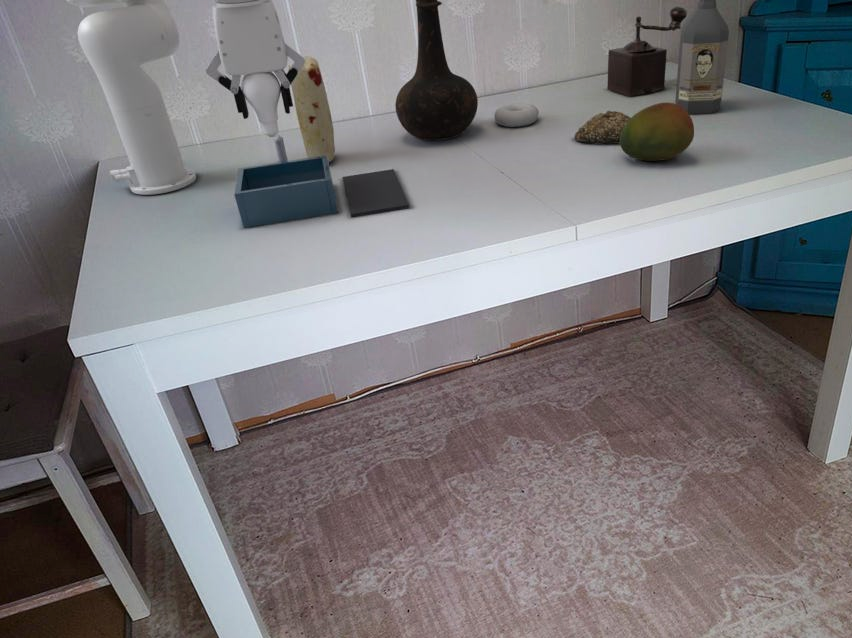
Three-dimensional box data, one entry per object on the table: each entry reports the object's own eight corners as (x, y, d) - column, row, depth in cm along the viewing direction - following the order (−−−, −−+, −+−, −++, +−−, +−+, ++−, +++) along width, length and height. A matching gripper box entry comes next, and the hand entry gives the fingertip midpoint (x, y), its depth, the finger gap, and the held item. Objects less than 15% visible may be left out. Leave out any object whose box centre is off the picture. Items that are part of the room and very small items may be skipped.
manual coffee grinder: (631, 98, 167) (634, 15, 157) (606, 89, 176) (607, 10, 166) (684, 87, 172) (691, 6, 162) (657, 79, 181) (662, 2, 171)
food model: (341, 164, 142) (321, 60, 131) (308, 170, 141) (285, 65, 130) (337, 151, 150) (318, 51, 139) (306, 156, 149) (284, 56, 138)
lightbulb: (297, 135, 118) (283, 66, 112) (266, 144, 115) (250, 74, 108) (277, 129, 122) (262, 62, 115) (246, 138, 118) (230, 70, 112)
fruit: (700, 163, 127) (706, 106, 121) (637, 175, 124) (640, 117, 119) (668, 146, 136) (672, 92, 130) (609, 156, 134) (611, 102, 128)
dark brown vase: (404, 152, 146) (384, 3, 130) (395, 129, 160) (376, -7, 145) (487, 140, 148) (477, -7, 132) (471, 119, 163) (460, -16, 147)
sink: (243, 228, 118) (226, 166, 112) (247, 196, 131) (231, 139, 125) (338, 212, 120) (326, 151, 114) (332, 182, 133) (321, 126, 127)
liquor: (674, 104, 160) (685, -47, 143) (715, 102, 159) (732, -50, 142) (677, 115, 153) (690, -42, 136) (721, 113, 151) (739, -46, 134)
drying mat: (351, 217, 118) (350, 213, 118) (342, 179, 134) (342, 176, 134) (409, 207, 120) (409, 204, 119) (394, 171, 136) (393, 168, 136)
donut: (525, 131, 152) (546, 117, 159) (524, 115, 150) (546, 102, 157) (486, 127, 157) (509, 114, 164) (485, 111, 155) (508, 99, 162)
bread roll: (632, 146, 138) (633, 120, 135) (570, 144, 141) (570, 119, 139) (641, 127, 147) (643, 103, 145) (584, 126, 151) (584, 102, 148)
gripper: (296, -15, 110) (318, 102, 120) (183, -5, 107) (215, 114, 118) (297, -10, 104) (320, 113, 114) (177, 2, 101) (211, 126, 112)
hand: (266, 113), depth 116 cm, fingers closed on lightbulb, 6 cm apart
